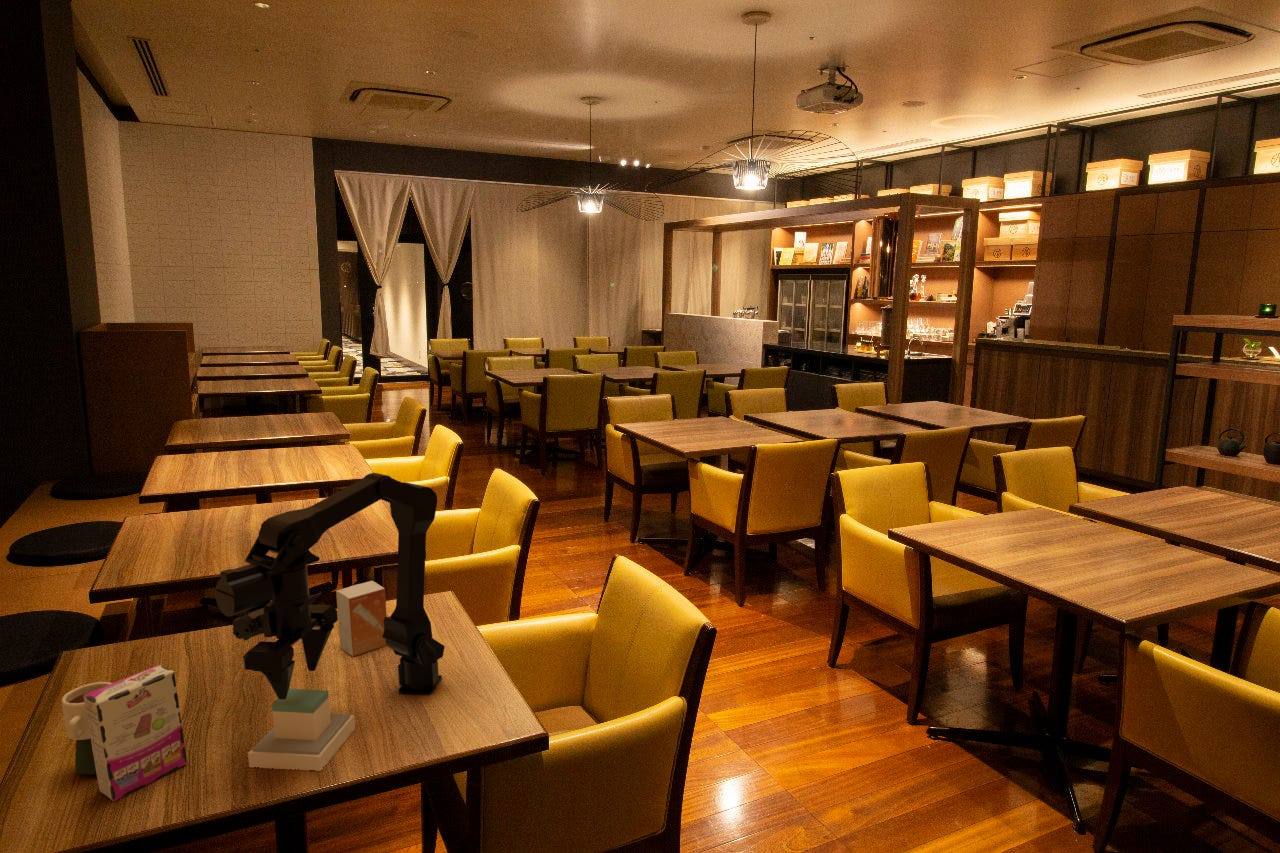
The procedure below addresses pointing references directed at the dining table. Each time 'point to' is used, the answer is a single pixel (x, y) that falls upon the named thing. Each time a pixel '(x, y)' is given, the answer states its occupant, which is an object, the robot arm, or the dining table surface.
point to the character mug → (80, 726)
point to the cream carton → (301, 714)
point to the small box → (361, 617)
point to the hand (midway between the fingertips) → (297, 684)
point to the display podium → (302, 747)
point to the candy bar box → (135, 731)
